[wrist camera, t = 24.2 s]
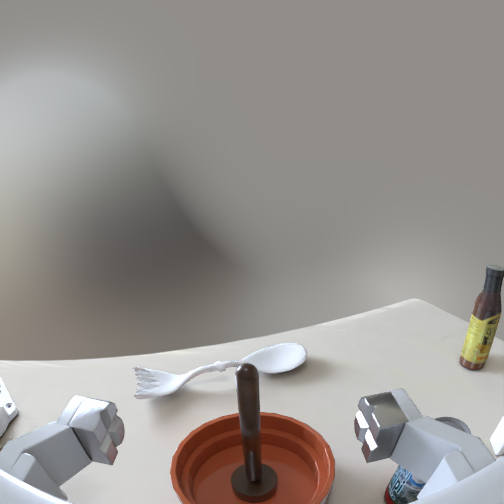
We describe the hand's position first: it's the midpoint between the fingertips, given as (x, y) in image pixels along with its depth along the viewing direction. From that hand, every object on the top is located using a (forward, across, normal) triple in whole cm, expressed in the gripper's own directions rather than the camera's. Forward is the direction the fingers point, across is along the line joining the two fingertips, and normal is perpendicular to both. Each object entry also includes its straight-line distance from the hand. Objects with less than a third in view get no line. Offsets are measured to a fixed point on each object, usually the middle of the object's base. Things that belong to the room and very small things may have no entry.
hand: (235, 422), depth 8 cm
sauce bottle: (+29, -44, +26) cm, 59 cm away
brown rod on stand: (+12, 0, +25) cm, 28 cm away
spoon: (+36, +5, +26) cm, 45 cm away
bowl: (+12, 0, +26) cm, 29 cm away
